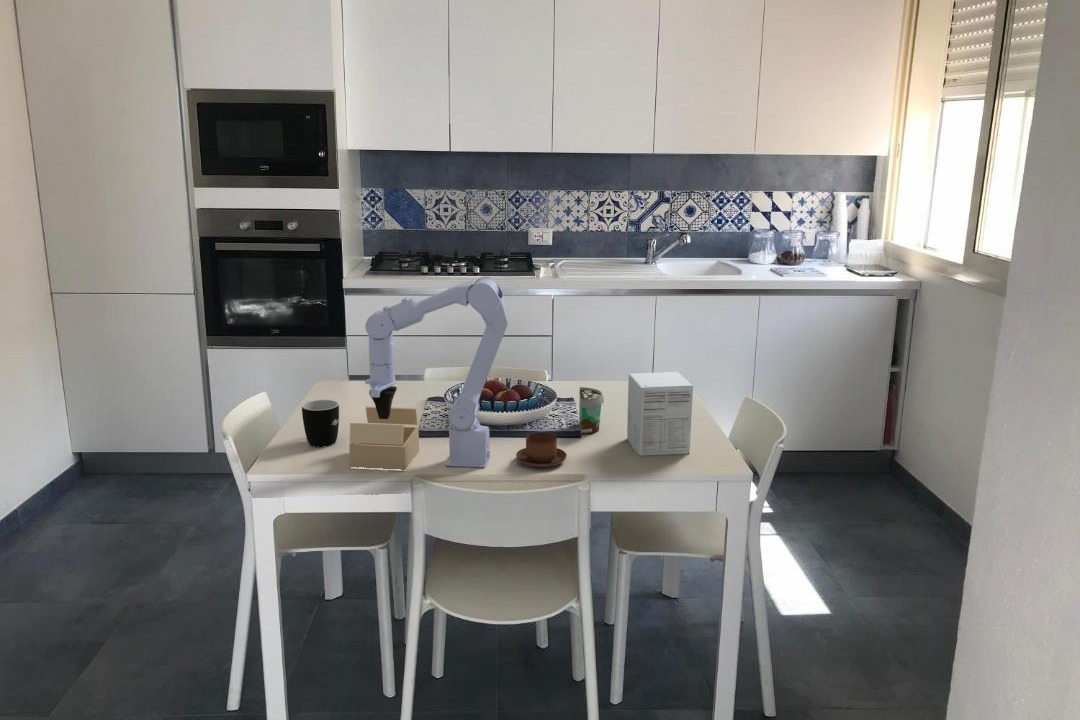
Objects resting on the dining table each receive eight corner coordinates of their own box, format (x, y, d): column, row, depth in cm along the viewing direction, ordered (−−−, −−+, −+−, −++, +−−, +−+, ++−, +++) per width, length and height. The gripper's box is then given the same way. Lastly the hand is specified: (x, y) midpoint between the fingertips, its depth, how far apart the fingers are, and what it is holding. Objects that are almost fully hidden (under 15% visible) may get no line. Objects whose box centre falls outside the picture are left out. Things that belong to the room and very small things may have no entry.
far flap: (417, 424, 220) (417, 423, 221) (415, 409, 218) (416, 408, 218) (367, 423, 221) (368, 421, 222) (365, 407, 219) (366, 406, 220)
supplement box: (691, 454, 220) (694, 385, 216) (638, 456, 218) (640, 387, 214) (675, 436, 233) (678, 371, 229) (625, 438, 231) (627, 372, 227)
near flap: (403, 425, 206) (403, 425, 206) (402, 444, 206) (402, 444, 206) (350, 423, 208) (350, 423, 207) (350, 442, 208) (349, 442, 207)
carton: (419, 450, 222) (418, 427, 220) (405, 471, 208) (404, 446, 207) (367, 448, 223) (366, 425, 221) (350, 469, 209) (349, 444, 208)
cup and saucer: (505, 461, 215) (505, 437, 213) (541, 449, 223) (541, 426, 222) (540, 475, 207) (541, 450, 205) (576, 462, 215) (577, 438, 213)
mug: (336, 449, 222) (334, 410, 220) (300, 449, 222) (297, 410, 219) (346, 433, 234) (344, 396, 231) (311, 433, 234) (309, 396, 231)
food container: (605, 437, 232) (606, 400, 229) (581, 437, 232) (581, 400, 229) (601, 422, 244) (602, 386, 241) (578, 422, 244) (579, 386, 241)
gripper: (373, 354, 217) (376, 408, 220) (355, 370, 203) (358, 427, 206) (402, 355, 216) (404, 409, 220) (386, 371, 202) (388, 428, 206)
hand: (384, 418), depth 213 cm, fingers closed
